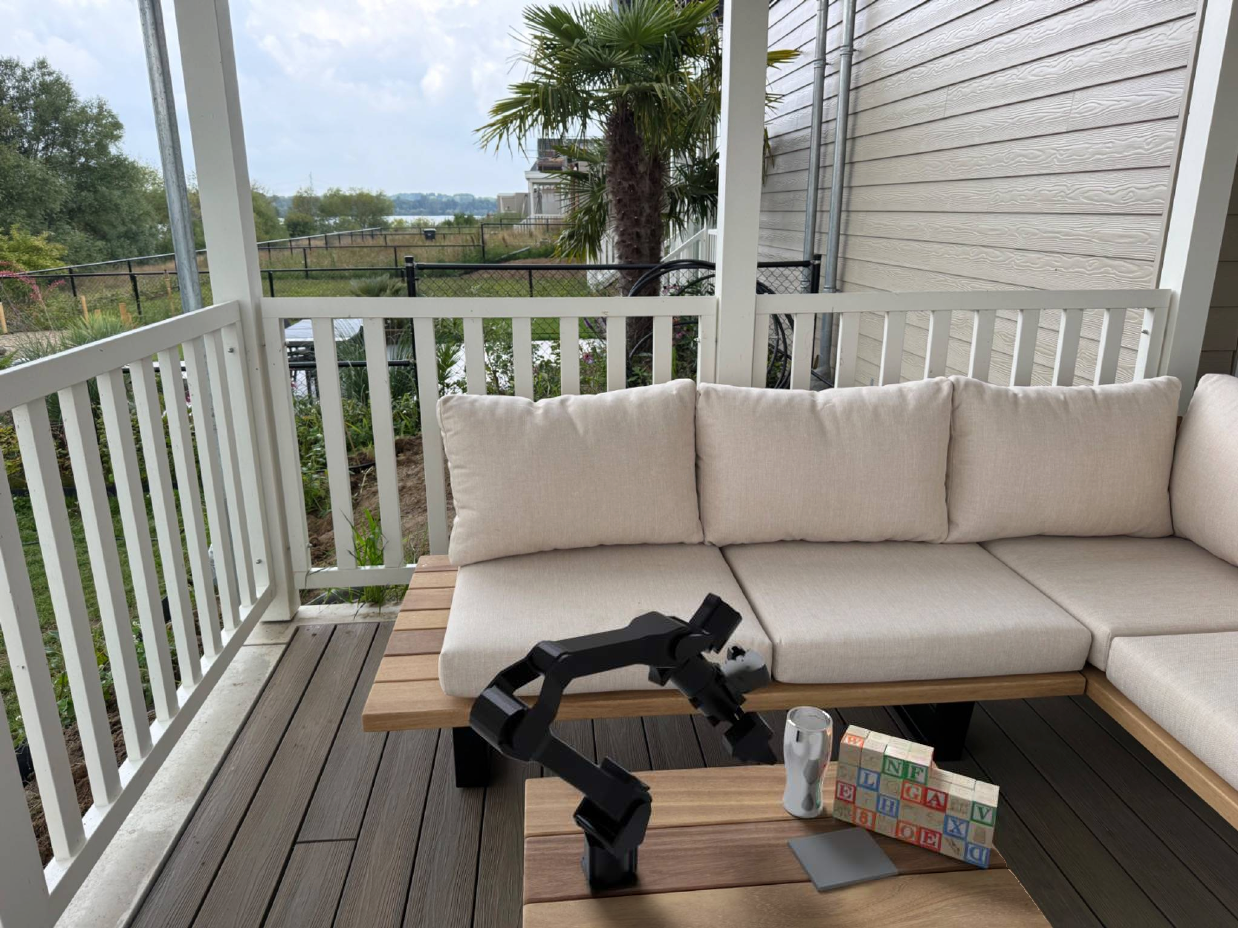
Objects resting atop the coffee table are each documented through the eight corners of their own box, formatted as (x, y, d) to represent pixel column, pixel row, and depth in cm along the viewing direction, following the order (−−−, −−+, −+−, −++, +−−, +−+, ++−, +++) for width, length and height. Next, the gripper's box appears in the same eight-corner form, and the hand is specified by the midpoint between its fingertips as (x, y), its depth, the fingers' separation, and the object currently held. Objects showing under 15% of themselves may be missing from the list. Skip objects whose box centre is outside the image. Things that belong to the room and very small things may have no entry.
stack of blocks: (991, 845, 115) (1003, 766, 112) (987, 870, 109) (1000, 787, 107) (840, 796, 125) (849, 722, 122) (830, 816, 119) (839, 739, 117)
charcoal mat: (818, 891, 106) (818, 887, 106) (787, 843, 115) (787, 840, 114) (898, 874, 109) (898, 870, 109) (862, 829, 118) (862, 825, 117)
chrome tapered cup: (806, 827, 118) (814, 737, 114) (769, 802, 123) (775, 715, 119) (835, 807, 122) (843, 720, 118) (798, 783, 127) (805, 699, 123)
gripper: (767, 670, 103) (833, 741, 108) (715, 611, 121) (775, 675, 126) (703, 729, 103) (773, 798, 108) (661, 662, 120) (722, 724, 125)
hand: (761, 744), depth 117 cm, fingers open, 9 cm apart
